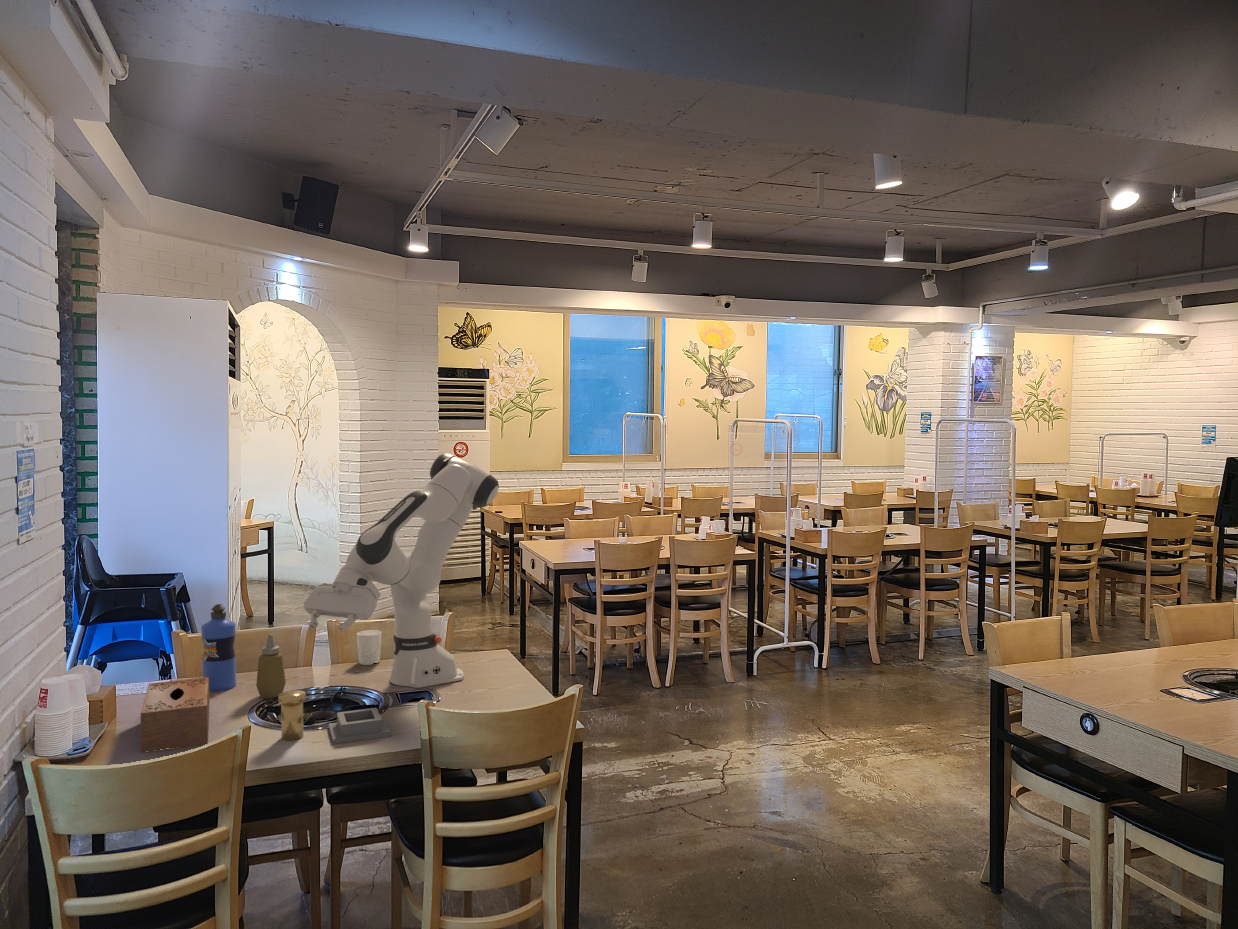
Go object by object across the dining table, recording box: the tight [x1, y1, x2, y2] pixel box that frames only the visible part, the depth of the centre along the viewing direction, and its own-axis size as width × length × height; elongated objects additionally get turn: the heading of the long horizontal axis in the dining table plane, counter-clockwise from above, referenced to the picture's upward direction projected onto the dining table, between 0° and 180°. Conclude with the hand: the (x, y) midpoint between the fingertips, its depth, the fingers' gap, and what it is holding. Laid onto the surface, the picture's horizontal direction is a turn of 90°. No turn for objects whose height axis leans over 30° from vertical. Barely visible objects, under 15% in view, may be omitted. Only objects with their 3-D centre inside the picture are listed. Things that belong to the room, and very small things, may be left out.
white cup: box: [356, 629, 382, 666], centre depth 283 cm, size 8×8×10 cm
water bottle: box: [200, 603, 237, 693], centre depth 255 cm, size 9×9×25 cm
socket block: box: [328, 707, 392, 745], centre depth 219 cm, size 14×12×4 cm
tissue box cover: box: [140, 677, 210, 753], centre depth 219 cm, size 26×14×10 cm, turn 25°
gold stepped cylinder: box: [277, 689, 306, 742], centre depth 215 cm, size 6×6×11 cm
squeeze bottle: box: [255, 634, 287, 699], centre depth 247 cm, size 8×8×18 cm
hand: (326, 628), depth 225 cm, fingers open, 8 cm apart
